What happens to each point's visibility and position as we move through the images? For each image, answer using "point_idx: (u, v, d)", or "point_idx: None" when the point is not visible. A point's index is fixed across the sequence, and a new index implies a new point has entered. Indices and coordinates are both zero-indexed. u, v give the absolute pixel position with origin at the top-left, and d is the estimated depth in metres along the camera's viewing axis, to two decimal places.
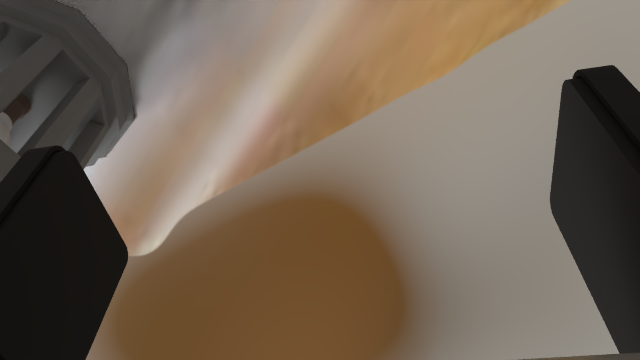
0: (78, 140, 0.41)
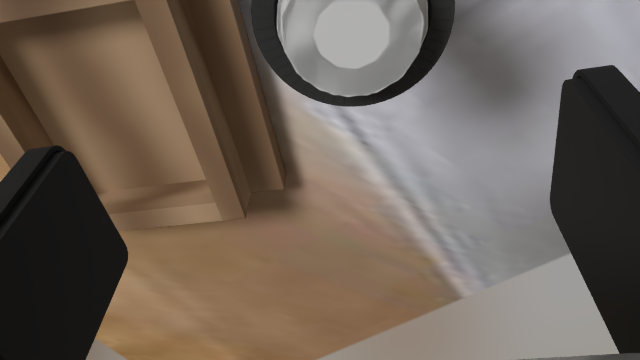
0: None
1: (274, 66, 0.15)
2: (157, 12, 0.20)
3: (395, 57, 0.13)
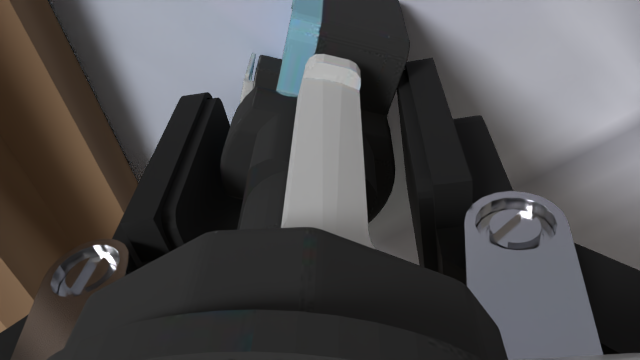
0: None
1: None
2: None
3: None
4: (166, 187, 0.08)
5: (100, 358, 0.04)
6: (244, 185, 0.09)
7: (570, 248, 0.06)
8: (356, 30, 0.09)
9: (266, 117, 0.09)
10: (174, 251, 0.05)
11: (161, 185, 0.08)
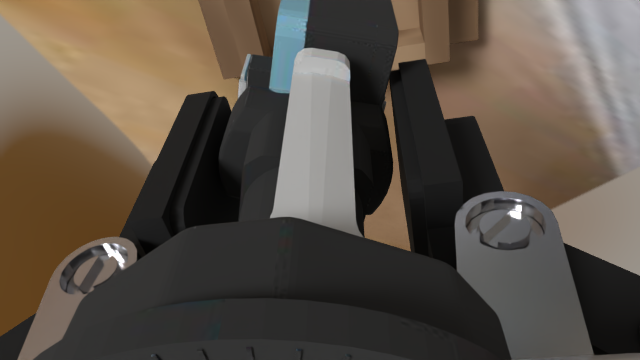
0: None
1: None
2: None
3: None
4: (174, 185, 0.08)
5: (76, 355, 0.04)
6: None
7: (559, 247, 0.06)
8: (345, 21, 0.09)
9: (259, 115, 0.09)
10: (157, 249, 0.05)
11: (168, 183, 0.08)
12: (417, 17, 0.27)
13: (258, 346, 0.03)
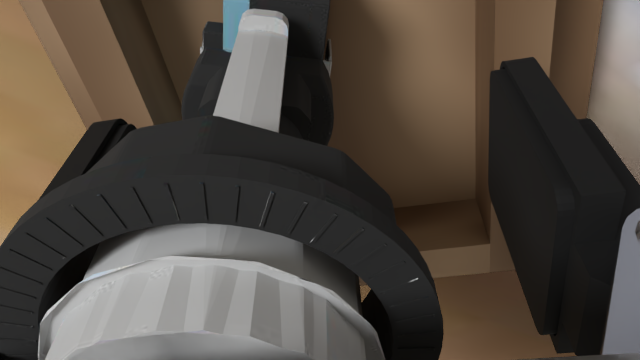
0: None
1: None
2: None
3: None
4: None
5: (45, 203, 0.05)
6: None
7: None
8: None
9: (213, 70, 0.10)
10: (111, 149, 0.06)
11: None
12: (473, 185, 0.16)
13: (173, 182, 0.05)
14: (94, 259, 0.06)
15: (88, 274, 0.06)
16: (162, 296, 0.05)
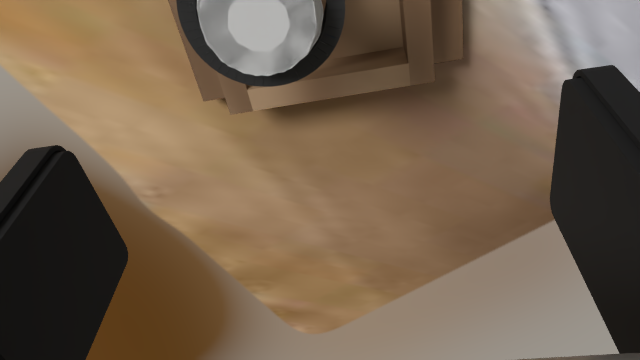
0: None
1: (207, 60, 0.18)
2: None
3: (298, 36, 0.16)
4: None
5: None
6: None
7: None
8: None
9: None
10: None
11: None
12: (401, 37, 0.27)
13: None
14: None
15: None
16: None
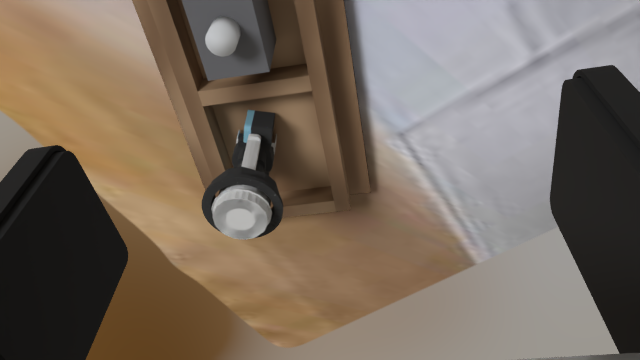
0: None
1: (216, 227, 0.36)
2: (322, 97, 0.37)
3: (259, 225, 0.34)
4: None
5: (217, 180, 0.33)
6: None
7: None
8: (259, 126, 0.39)
9: (240, 148, 0.38)
10: (224, 171, 0.35)
11: None
12: None
13: (237, 178, 0.33)
14: (221, 191, 0.34)
15: (220, 193, 0.34)
16: (235, 194, 0.33)
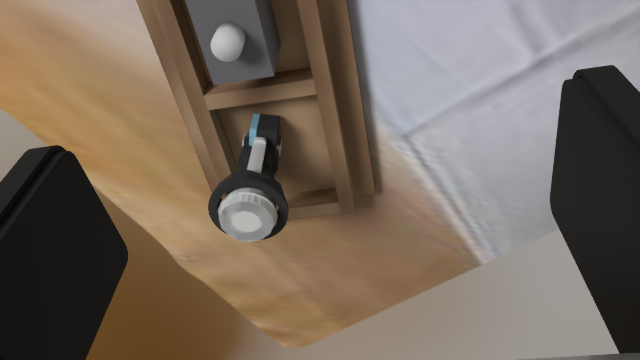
0: None
1: (222, 230, 0.36)
2: (327, 100, 0.38)
3: (265, 227, 0.35)
4: None
5: (223, 184, 0.34)
6: None
7: None
8: (265, 129, 0.39)
9: (246, 151, 0.39)
10: (229, 175, 0.35)
11: None
12: None
13: (243, 181, 0.34)
14: (227, 194, 0.35)
15: (226, 196, 0.35)
16: (241, 197, 0.34)
